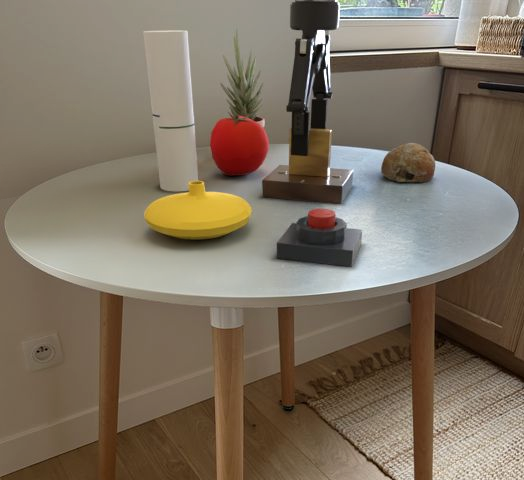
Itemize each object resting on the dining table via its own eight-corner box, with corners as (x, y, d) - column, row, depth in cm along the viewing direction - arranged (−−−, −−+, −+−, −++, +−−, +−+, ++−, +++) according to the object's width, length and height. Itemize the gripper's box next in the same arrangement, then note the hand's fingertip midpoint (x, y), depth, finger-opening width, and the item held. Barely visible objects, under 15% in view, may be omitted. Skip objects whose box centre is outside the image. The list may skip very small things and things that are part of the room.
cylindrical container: (183, 178, 106) (170, 30, 92) (206, 185, 101) (196, 30, 88) (152, 186, 101) (134, 31, 88) (175, 193, 97) (160, 32, 84)
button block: (361, 244, 76) (363, 216, 74) (351, 266, 69) (354, 237, 67) (291, 237, 78) (292, 210, 76) (276, 258, 72) (276, 229, 70)
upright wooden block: (329, 174, 96) (332, 127, 92) (327, 177, 94) (330, 129, 90) (291, 171, 98) (292, 126, 93) (288, 174, 96) (289, 127, 92)
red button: (337, 222, 73) (338, 209, 72) (331, 231, 70) (332, 218, 69) (311, 220, 74) (311, 207, 73) (304, 228, 71) (305, 215, 70)
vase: (272, 235, 79) (272, 187, 75) (173, 259, 72) (167, 206, 68) (221, 207, 90) (218, 164, 86) (130, 225, 83) (124, 178, 79)
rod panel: (352, 186, 100) (353, 168, 99) (341, 204, 91) (342, 185, 90) (279, 180, 104) (279, 163, 102) (262, 197, 95) (261, 179, 93)
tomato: (225, 164, 115) (223, 107, 109) (276, 169, 111) (277, 110, 105) (200, 179, 105) (195, 117, 99) (254, 184, 102) (253, 121, 96)
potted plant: (226, 148, 128) (221, 26, 115) (266, 149, 127) (266, 26, 114) (219, 158, 119) (213, 28, 106) (262, 159, 118) (261, 28, 105)
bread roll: (378, 198, 105) (383, 164, 99) (380, 163, 111) (384, 129, 104) (431, 200, 104) (439, 166, 97) (430, 165, 109) (438, 130, 103)
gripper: (309, 0, 93) (304, 131, 104) (267, -1, 73) (267, 161, 84) (353, 0, 91) (343, 133, 103) (322, -1, 71) (314, 165, 82)
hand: (309, 146), depth 93 cm, fingers open, 13 cm apart
